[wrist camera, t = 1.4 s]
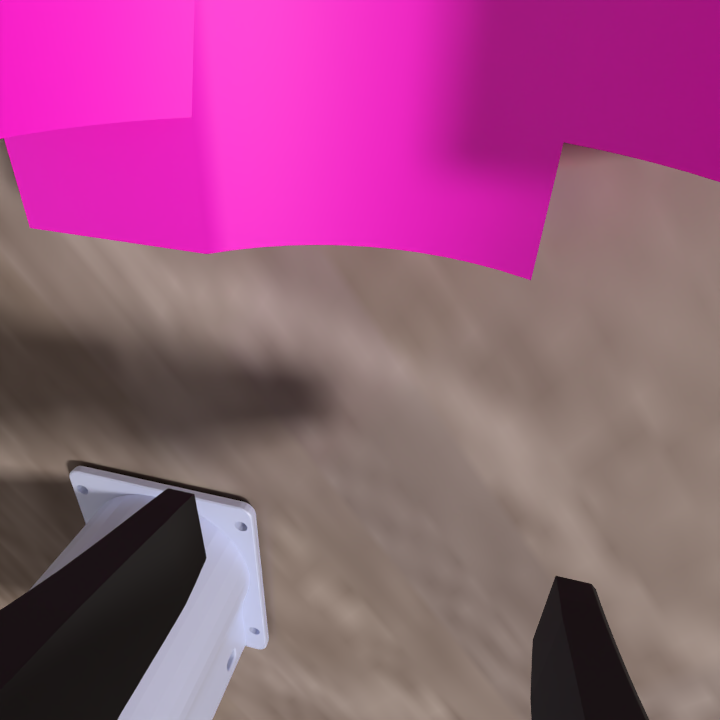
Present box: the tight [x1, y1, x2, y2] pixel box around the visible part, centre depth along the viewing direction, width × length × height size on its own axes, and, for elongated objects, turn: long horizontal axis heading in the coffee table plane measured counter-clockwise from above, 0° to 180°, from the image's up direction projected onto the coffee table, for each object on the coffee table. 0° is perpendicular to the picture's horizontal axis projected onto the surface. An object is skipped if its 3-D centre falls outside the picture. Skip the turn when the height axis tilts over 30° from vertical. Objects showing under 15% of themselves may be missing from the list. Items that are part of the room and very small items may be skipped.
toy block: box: [0, 0, 720, 280], centre depth 9 cm, size 15×6×8 cm, turn 87°
